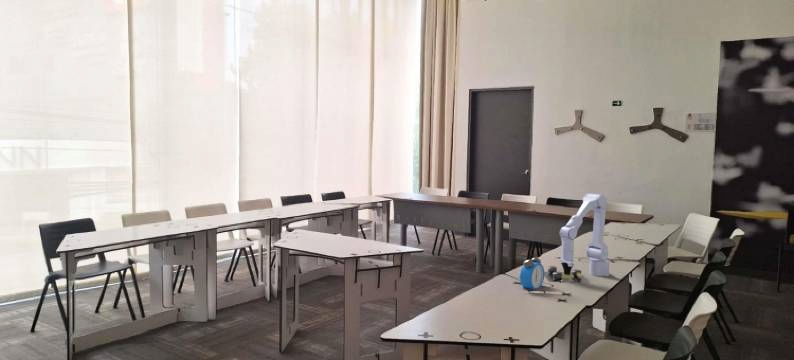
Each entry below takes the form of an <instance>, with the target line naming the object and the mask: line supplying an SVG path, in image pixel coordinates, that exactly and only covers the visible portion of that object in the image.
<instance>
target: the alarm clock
mask: <svg viewBox="0 0 794 360" xmlns="http://www.w3.org/2000/svg"><path fill="white" fill-rule="evenodd" d="M522 264H523V265H522V267H521V269H520V275H519V280H520V281H519V282H520V285H521V287H523V288H525V289H530V290H531V292H533V291H534V290H537V289H538V288H541V287H542V285H543V283H544V279H545V276H544V272H545V269H544V265H543V264H542V260H541V259H540V258H538V257H537V256H536V257H532V258H531V259H525V260H524V261H523V263H522Z"/></svg>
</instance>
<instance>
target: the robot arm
mask: <svg viewBox="0 0 794 360" xmlns="http://www.w3.org/2000/svg"><path fill="white" fill-rule="evenodd" d="M607 203H608V199H607V197H606V195H605V194H598V193H590V192H587V193H586V194H584V196H583V197H582V204H581V206H580V207H579V209H578V210H577V213H576V214H574V215H572V216H571V217H570V219H569V220H568V222H567V223H566V224H565V226H562V227H561V228H560V230H559V237H560V241H561V258H558V260H559V261H560V264H561V266H562V269H563V272H564V274H569V275H570V272H571V271H572V270H573V268H574V265H575V264H574V262H575V259H574V255H575V253H574V251H575V250H574V248H575V239H576V237H577V235H578V230H579V228H580V227H581V225H582V223H583V221H584V220H583V218H584V217H585V216H586V215H587V213H588V212H589V211H590V210H591V209H592V210H593V212H594V215H593V226H592V227H593V229H592V240H591V241H590V242H588V243H587V248H586V250H585V251H586V252H585V254H586V256H587V257H588V260H589V270H588V271H589V272H588V274H589V275H590V276H595V277H609V276H610V261H609V260H608V257H609V250H608V245H607V244H606V243H605V242H604V235H605V233H604V232H605V223H606V210H607Z"/></svg>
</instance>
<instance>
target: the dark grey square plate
mask: <svg viewBox="0 0 794 360" xmlns="http://www.w3.org/2000/svg"><path fill="white" fill-rule="evenodd" d="M560 272H561V273H562V274H564V271H560ZM570 275H572V272H570ZM581 275H582V278H575V277H574V278H573V279H567V278H562V280H553V274H549V273H548V271H544V278H545V279H546V281H548V282H549V283H581V284H582V283H585V284H586V283H587V284H588V283H589V284H590V281H589V280H588V279H587V278H586V276H584V275H583V274H582V273H581Z"/></svg>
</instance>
